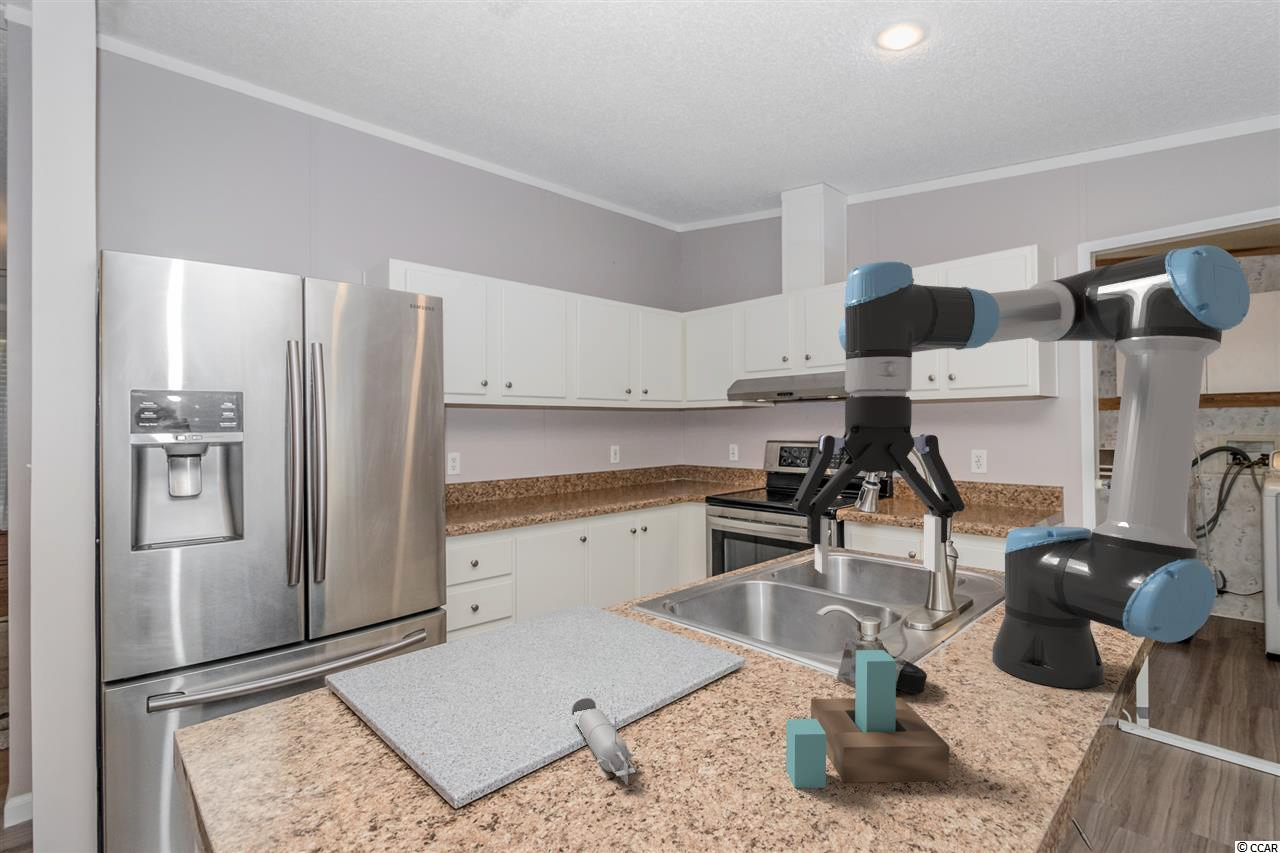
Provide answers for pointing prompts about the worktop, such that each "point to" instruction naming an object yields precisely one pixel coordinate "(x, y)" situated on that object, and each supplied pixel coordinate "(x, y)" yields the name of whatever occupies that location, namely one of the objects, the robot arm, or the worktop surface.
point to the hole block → (881, 745)
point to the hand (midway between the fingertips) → (876, 570)
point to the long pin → (875, 691)
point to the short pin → (806, 753)
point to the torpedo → (603, 738)
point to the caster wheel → (906, 672)
